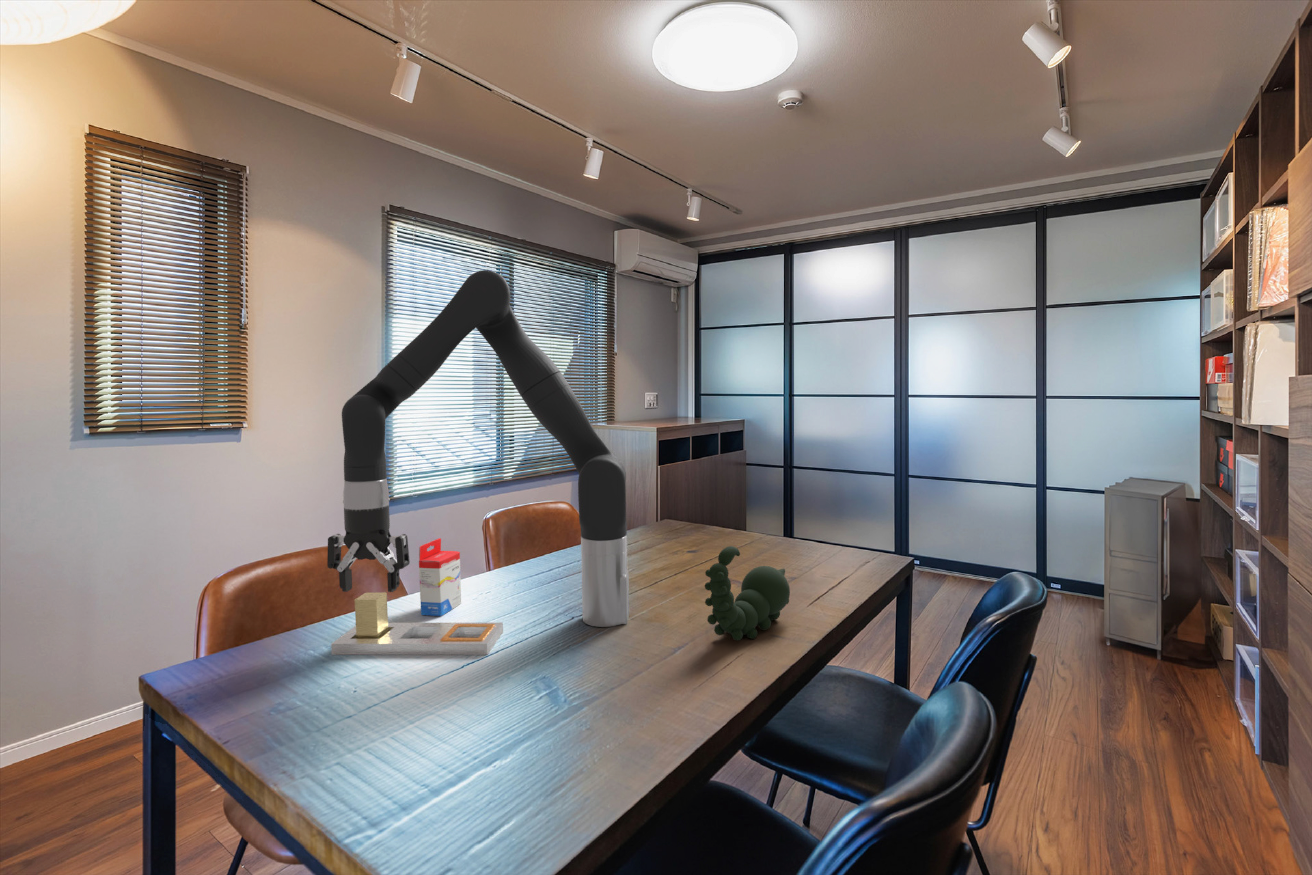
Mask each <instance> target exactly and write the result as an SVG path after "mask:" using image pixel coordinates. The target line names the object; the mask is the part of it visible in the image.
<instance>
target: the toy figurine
mask: <svg viewBox="0 0 1312 875" xmlns="http://www.w3.org/2000/svg"><path fill="white" fill-rule="evenodd" d="M740 555H741V552H740V550H739V548H737V547H736V546H734V545H731V546H729V545H728V546H726V547H724V548H723V549H722V550H721V551H720V553H719V554H718V556H717V561H718V562H717V563H714V564H712V565H711V566H710V567H709V569H707V570H705V572H704V574H705V576H706V577H707V578H710V580H709V581H708V582H705V584H704V589H705V590H706V591H710V592H711V594H710V597H706V598H705V599H704V600H705V601H704V604H705V605H706V606H707V607H712V610H711V613H712V614H709V615H708V616H707V622H708V624H710V625H711V626H713V625H714V628H713V631H714V633H715V634H716V635H717V636H722V635H725V634H726V633H728V634H729V635H731V638H732V639H733V641H740V640H742V638H744V636H745V635H746V638H748V639H751V640H755V639H756V638H757V636H758V630H757V628H756V627H757V626H758V628H759V629H760V630H763V631H766V630H768V629H769V630H770V628H771V626H772V621H777V620H778V619H779V618H780V616H781V611H782V610H783V609H784V608H785V607H786V606H787V605H788V604H789V603H790V595H791V588H790V585H789V581H788V579H787V577H786V576H785V574H786V569H785V568H781V569H780V568H779V569H777V568H775V567H773V566H769V565H760V566H757V567H756V566H755V568H752V569H751V570H750V571H749V572H747V573H746V575H745V576H744V578H743V579H742V582H741V587H740V588H741V589H740V592H739V593H738V595H736V597H735V596H734V593H733V592H732V590H731V589H732V583H731V579H730V578H729V574H730V573H729V569H728V568H727V566H728V565H730V564H731V563H732V561H733V559H734V558H735V557H740ZM717 623H718V624H717Z"/></svg>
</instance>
